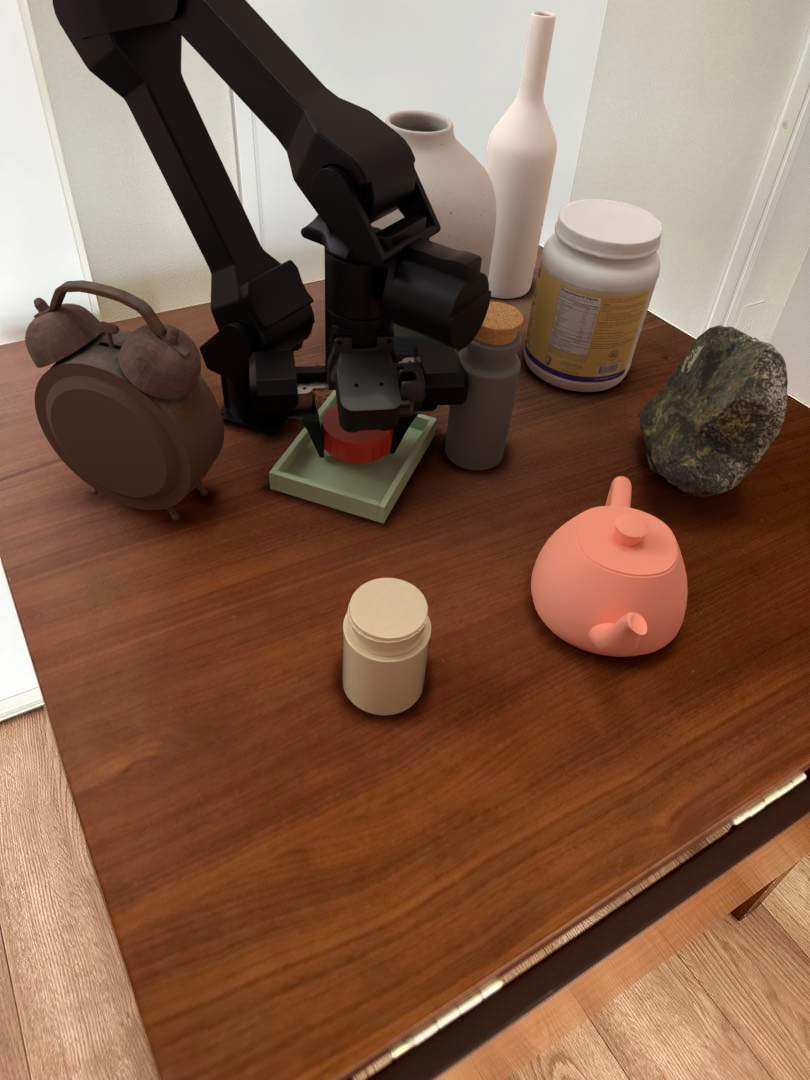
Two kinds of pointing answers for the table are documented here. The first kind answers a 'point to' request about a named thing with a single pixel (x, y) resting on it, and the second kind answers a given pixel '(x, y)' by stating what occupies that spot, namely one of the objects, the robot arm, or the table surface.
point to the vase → (445, 197)
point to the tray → (351, 472)
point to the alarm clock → (124, 400)
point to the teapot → (612, 579)
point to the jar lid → (353, 440)
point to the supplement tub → (592, 294)
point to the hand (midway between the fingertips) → (356, 453)
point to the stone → (716, 412)
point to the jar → (385, 646)
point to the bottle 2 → (522, 168)
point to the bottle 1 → (486, 391)
